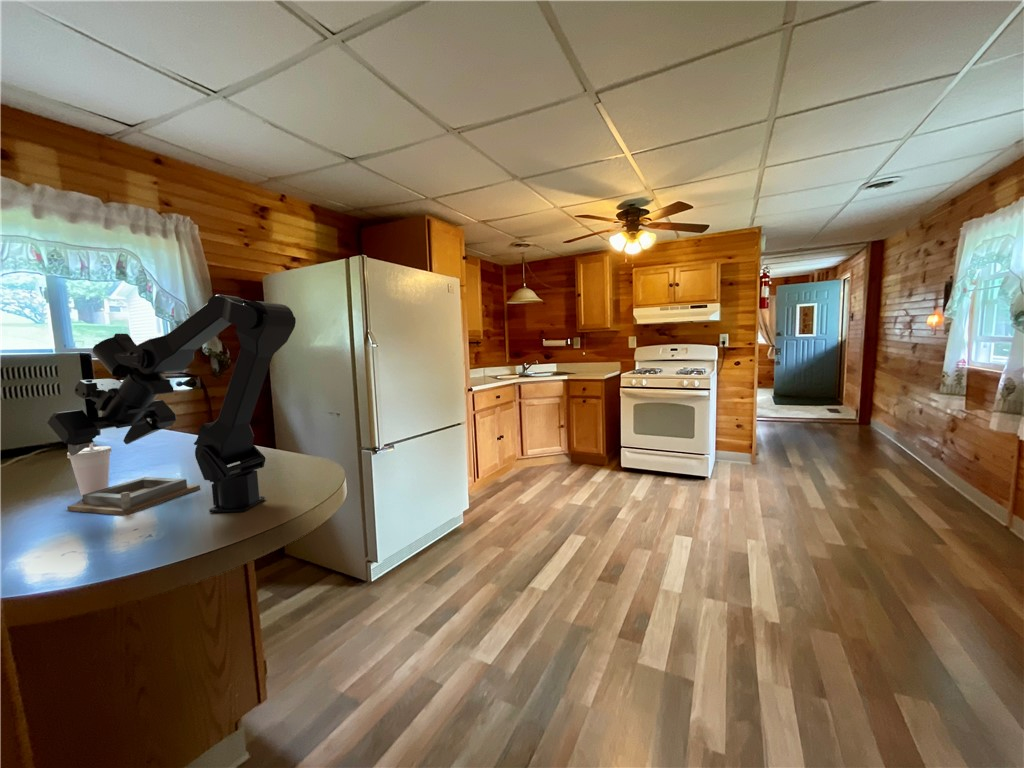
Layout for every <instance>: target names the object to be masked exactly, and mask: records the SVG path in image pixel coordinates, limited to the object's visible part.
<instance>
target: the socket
mask: <svg viewBox="0 0 1024 768" xmlns="http://www.w3.org/2000/svg"><path fill="white" fill-rule="evenodd" d="M198 490H201V485H200V484H189V483H188V480H187V478H173V477H172V478H170V477H156V476H155V477H153V476H152V477H151V476H144V477H141V478H140V477H139V478H137V479H133V480H130V481H126V482H124V483H120V484H117V485H113V486H108V488H105V489H101V490H98V491H95V492H91V493H88V494H84V495H82V496H81V498H82V497H83V499H82V501H80V502H77V503H74V504H71V505H67V511H70V512H80V511H82V513H83V512H84V513H94V514H105V515H107V514H108V515H115V516H116V515H117V516H128V515H130V514H133V513H136V512H139V511H142V510H144V509H148V508H150V507H152V506H156V505H158V504H162V503H165V502H167V501H170V500H173V499H175V498H178V497H180V496H183V495H187V494H189V493H192V492H195V491H198Z"/></svg>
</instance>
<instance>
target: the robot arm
mask: <svg viewBox="0 0 1024 768" xmlns="http://www.w3.org/2000/svg"><path fill="white" fill-rule="evenodd" d="M296 323H297V321H296V317H295V316H294V312H293V311H292V309H291V308H290V307H289V306H287V305H286V304H282V303H275V302H267V301H258V300H246V299H243V298H241V297H239V296H234V295H233V296H232V295H226V294H225V295H224V294H216V295H212V296H211V297H209V298H208V301H207V303H206V304H204V305H203V306H202V307H201V308H200V309H198V310H196V311H195V312H194V313H192V315H191V316H189V317H188V318H187V319H185V320H183V322H181V323H180V324H179V325H178V326H177V327H175V328H173V329H172V330H171V331H170V332H168V333H166V334H163V335H160V336H159V335H158V336H155V337H152V338H149V339H147V340H144V341H143V342H141V343H139V344H136V343H135V341H134V340H133V339H132V337H131V336H130V335H129V334H128V333H118V332H117V333H114V335H113V336H112V337H108V338H106V339H102V340H101V341H99V342H98V343H96V344H95V345H94V346H93V347H92V354H93V355H94V356H95V357H96V358H97V360H99V362H100V363H101V364H102V365H103V366H104V368H105V369H106V370H107V371H108V372H109V373H110V374H111V376H112V377H116V378H124V379H123V380H122V382H120V381H119V380H117V379H114V378H100V379H99V378H98V379H80V380H79V381H78V383H77V384H76V385H75V387H74V394H75V395H76V396H78V397H79V398H81V399H83V400H86V399H89V400H91V401H93V402H95V403H96V404H95V405H94V408H95V409H96V410H97V411H99V412H101V416H97V417H89V416H88V415H87V414H86V413H85V411H84V410H83V409H82V410H81V409H75V410H67V411H66V410H65V411H58V412H53V413H52V414H51V416H50V417H49V419H48V421H47V424H48V425H49V427H50V428H51V429H52V430H53V432H54V433H55V434H56V435H57V436H58V437H59V439H60V440H61V441H62V442H63V443H64V444H66V445H67V451H68V452H69V453H70V455H71V456H73V455H75V454H77V453H79V452H80V451H81V450H83V449H84V448H88V447H89V445H90V444H91V443H92V442H93V443H94V439H96V437H97V435H98V431H100V430H106V429H112V428H115V429H121V428H122V429H123V428H127V427H128V428H129V429H128V431H127V433H126V434H125V436H124V438H123V443H124V444H125V445H129V444H132V443H133V442H136V441H138V440H140V439H143V438H145V437H147V436H149V435H151V434H154V433H156V432H158V431H161V430H164V429H166V428H168V427H172V426H173V425H174V424H175V422H176V421H177V414H176V413H175V412H174V411H173V410H172V408H171V407H170V406H169V405H168V403H166V401H164V400H163V399H156V398H157V397H158V396H159V395H165V394H173V393H174V392H175V391H174V386H173V385H172V384H171V380H170V379H169V378H166V376H165V375H164V374H174V373H175V374H176V373H177V374H178V373H181V372H182V373H183V372H184V371H185V370H186V369H187V368H188V367H189V366H190V364H191V363H192V362H193V361H194V359H195V352H196V351H198V349H200V348H201V347H202V346H203V345H205V344H206V343H208V342H209V341H210V340H212V339H213V338H214V337H216V336H217V335H218V334H220V333H221V332H223V331H224V330H225V329H227V328H228V327H229V326H230V325H236V326H235V327H236V329H235V332H236V336H237V338H238V341H239V344H240V350H239V351H238V352H239V353H238V356H237V358H236V359H237V360H236V362H235V365H234V367H233V368H234V369H233V372H232V375H231V376H230V377H231V378H230V381H229V383H228V386H227V389H226V393H225V395H224V399H223V402H222V406H221V409H220V411H219V415H218V418H217V419H216V420H215V421H212V422H208V423H203V424H201V425H200V427H199V429H198V435H197V438H196V440H195V441H194V443H193V445H194V446H196V447H195V450H194V457H195V460H196V463H197V465H198V468H199V470H200V472H201V476H202V478H203V480H204V481H209V482H210V483H211V491H212V504H213V507H211V508H209V509H208V510H209V511H208V512H209V513H235V512H236V513H237V512H238V513H239V512H241V513H243V512H245V511H247V510H249V509H251V508H252V507H254V506H256V505H257V504H259V503H261V502H262V501H264V500H265V499H266V497H265V496H261V495H260V490H259V477H258V470H259V469H263V468H264V467H265V463H266V460H267V459H266V457H265V455H264V454H263V453H262V452H261V451H260V450H259V449H258V448H257V447H256V446H255V445H254V440H255V439H254V438H255V434H254V432H253V429H252V427H251V420H252V417H253V414H254V412H255V409H256V407H257V404H258V400H259V397H260V394H261V393H262V392H261V391H262V388H263V385H264V382H265V380H266V377H267V374H268V370H269V367H270V365H271V362H272V360H273V356H274V355H275V354H276V353H277V352H278V351H279V350H280V349H281V348H282V347H283V346H284V345H285V344H287V342H288V341H289V338H290V337H291V335H292V333H293V331H294V330H295V326H296ZM92 439H93V440H92ZM68 452H67V453H68ZM236 463H237V464H236ZM232 464H233V465H232ZM230 465H231V466H230Z"/></svg>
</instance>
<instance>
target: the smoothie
mask: <svg viewBox="0 0 1024 768" xmlns="http://www.w3.org/2000/svg"><path fill="white" fill-rule="evenodd" d="M92 440H93V442H92V443H91V444H90V445H88V447H86V448H84V449H83V450H81V451H80V452H79V453H77V454H75V455H73V456H71V455H70V453H69V452H67V454H66V455H67V456H66V457H67V459H69V460H70V463H71V467H72V470H73V473H74V476H75V480H76V483H77V485H78V489H79V492H80V496H81V499H82V500H83V497H82V495H84V494H88V493H91V492H95V491H98V490H101V489H105V488H108V487H109V477H110V476H109V474H110V457H111V453H112V446H109V445H105V446H104V445H103V446H102V445H101V446H94V439H92Z"/></svg>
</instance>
